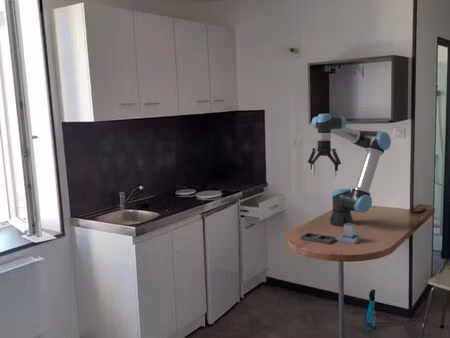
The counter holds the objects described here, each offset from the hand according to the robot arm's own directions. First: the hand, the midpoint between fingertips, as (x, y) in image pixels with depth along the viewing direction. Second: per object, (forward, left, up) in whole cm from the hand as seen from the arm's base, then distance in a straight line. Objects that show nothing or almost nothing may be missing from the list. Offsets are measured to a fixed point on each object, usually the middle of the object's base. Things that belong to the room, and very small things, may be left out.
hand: (324, 175), depth 270 cm
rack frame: (+10, +1, -37) cm, 38 cm away
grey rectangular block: (+2, +17, -36) cm, 40 cm away
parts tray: (+2, +17, -37) cm, 40 cm away
